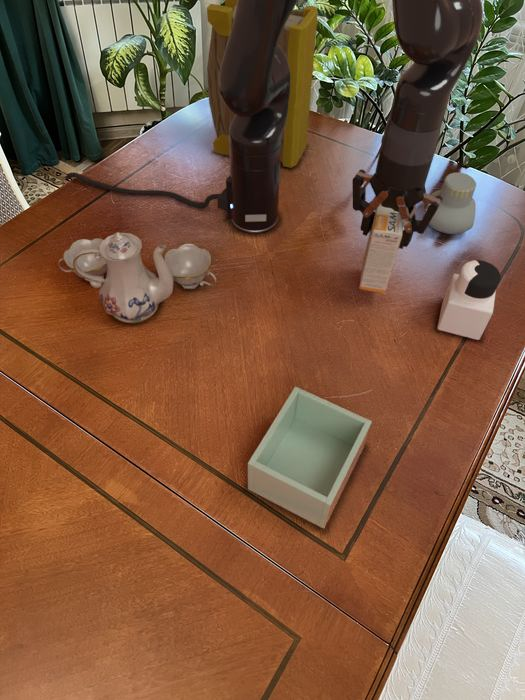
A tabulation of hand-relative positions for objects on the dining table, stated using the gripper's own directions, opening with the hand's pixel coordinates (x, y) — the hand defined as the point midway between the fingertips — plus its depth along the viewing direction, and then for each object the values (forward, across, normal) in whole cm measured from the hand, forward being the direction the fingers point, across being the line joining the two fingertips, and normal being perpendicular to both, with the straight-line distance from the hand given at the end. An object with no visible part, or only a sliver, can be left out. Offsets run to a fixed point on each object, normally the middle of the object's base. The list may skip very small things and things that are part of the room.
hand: (384, 238), depth 94 cm
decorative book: (+12, +39, -28) cm, 49 cm away
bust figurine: (+11, -16, 0) cm, 20 cm away
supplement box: (+9, 0, 0) cm, 9 cm away
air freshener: (+12, -6, -24) cm, 27 cm away
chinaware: (+12, +35, +22) cm, 43 cm away
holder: (+11, -6, +38) cm, 40 cm away
